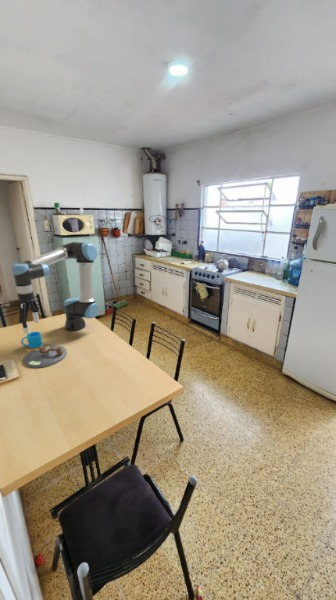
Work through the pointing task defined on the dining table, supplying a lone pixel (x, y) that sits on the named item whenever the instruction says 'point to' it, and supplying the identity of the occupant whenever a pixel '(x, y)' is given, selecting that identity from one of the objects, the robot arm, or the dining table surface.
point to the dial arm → (46, 348)
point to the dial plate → (43, 358)
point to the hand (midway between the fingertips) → (32, 327)
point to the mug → (33, 340)
